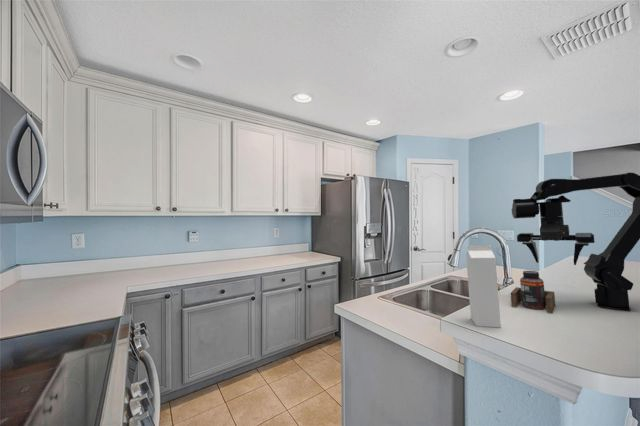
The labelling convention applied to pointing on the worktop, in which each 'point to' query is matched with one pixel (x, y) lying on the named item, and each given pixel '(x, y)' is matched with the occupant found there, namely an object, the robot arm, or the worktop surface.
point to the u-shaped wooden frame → (549, 299)
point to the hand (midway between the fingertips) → (555, 263)
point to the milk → (483, 286)
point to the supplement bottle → (532, 290)
